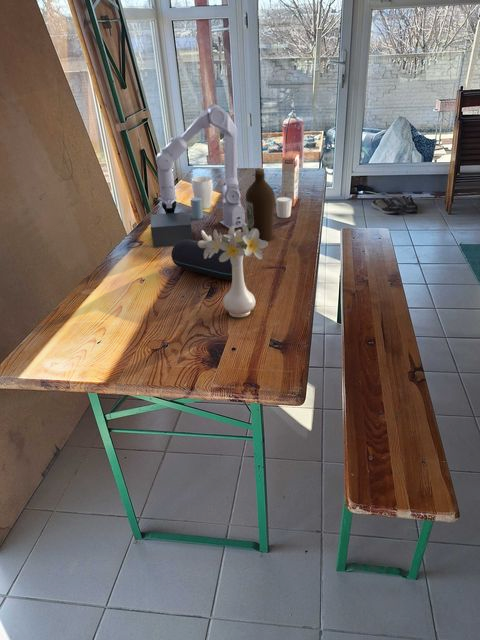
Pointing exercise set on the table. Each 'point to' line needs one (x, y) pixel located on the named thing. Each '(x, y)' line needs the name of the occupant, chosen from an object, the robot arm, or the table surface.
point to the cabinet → (170, 228)
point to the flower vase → (235, 264)
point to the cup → (203, 190)
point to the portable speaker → (200, 260)
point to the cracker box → (290, 175)
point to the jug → (196, 208)
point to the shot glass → (283, 207)
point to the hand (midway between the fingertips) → (171, 220)
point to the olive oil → (260, 206)
